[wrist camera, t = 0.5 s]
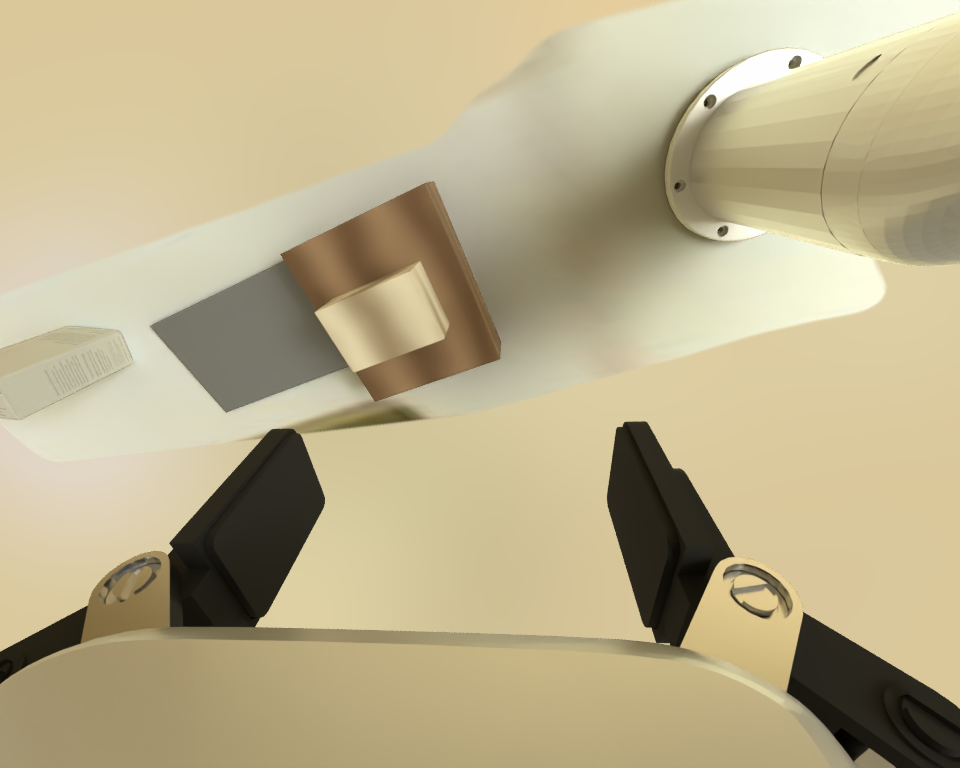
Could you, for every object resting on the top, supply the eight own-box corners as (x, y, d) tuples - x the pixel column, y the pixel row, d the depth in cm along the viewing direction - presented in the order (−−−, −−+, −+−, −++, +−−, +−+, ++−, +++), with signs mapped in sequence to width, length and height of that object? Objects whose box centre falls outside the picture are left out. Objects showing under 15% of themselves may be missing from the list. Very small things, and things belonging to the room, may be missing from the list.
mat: (301, 252, 36) (298, 253, 35) (366, 358, 41) (364, 360, 41) (153, 324, 41) (149, 326, 40) (228, 410, 46) (226, 412, 46)
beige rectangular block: (419, 260, 32) (410, 271, 29) (449, 323, 34) (444, 339, 31) (332, 299, 34) (314, 312, 31) (366, 355, 36) (353, 372, 33)
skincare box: (86, 358, 44) (-46, 419, 33) (67, 322, 41) (-82, 375, 31) (138, 363, 44) (21, 425, 33) (121, 326, 41) (-10, 381, 31)
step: (433, 181, 32) (424, 183, 29) (500, 341, 39) (500, 358, 36) (302, 245, 36) (280, 254, 32) (385, 382, 43) (375, 401, 39)
